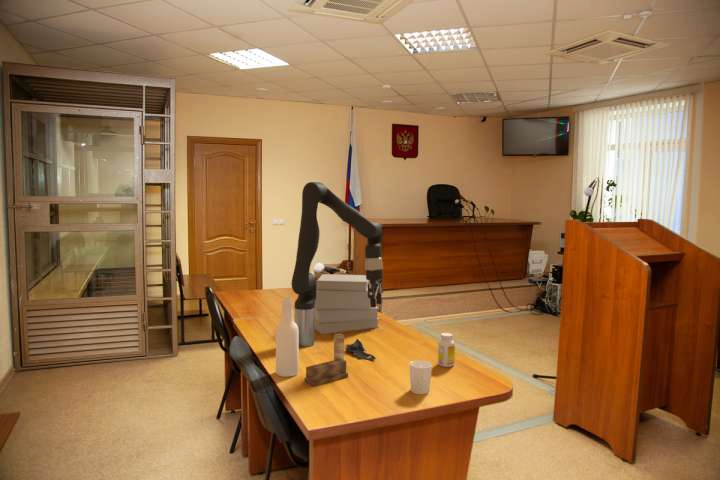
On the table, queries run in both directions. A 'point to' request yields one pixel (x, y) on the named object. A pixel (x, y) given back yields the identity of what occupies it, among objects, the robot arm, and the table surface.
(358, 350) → the decorative bat
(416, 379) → the white cup
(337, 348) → the dowel
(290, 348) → the alcohol
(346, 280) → the book stack
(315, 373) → the brown block
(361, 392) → the table surface
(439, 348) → the supplement bottle
